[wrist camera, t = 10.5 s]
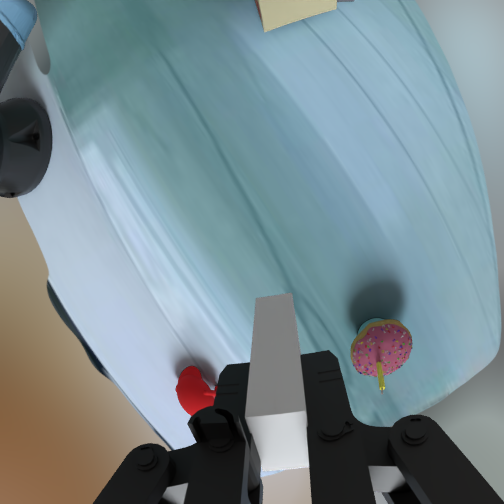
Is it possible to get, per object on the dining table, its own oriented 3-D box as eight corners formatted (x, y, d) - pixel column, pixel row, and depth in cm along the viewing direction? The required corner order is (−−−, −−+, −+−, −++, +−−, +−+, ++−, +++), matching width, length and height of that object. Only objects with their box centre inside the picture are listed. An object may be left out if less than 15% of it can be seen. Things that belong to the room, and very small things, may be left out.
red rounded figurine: (231, 410, 45) (218, 402, 40) (198, 427, 44) (181, 420, 40) (211, 370, 50) (197, 356, 46) (180, 386, 49) (163, 374, 45)
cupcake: (357, 364, 44) (375, 421, 33) (335, 323, 42) (351, 380, 31) (407, 337, 43) (437, 389, 31) (390, 293, 41) (423, 342, 29)
